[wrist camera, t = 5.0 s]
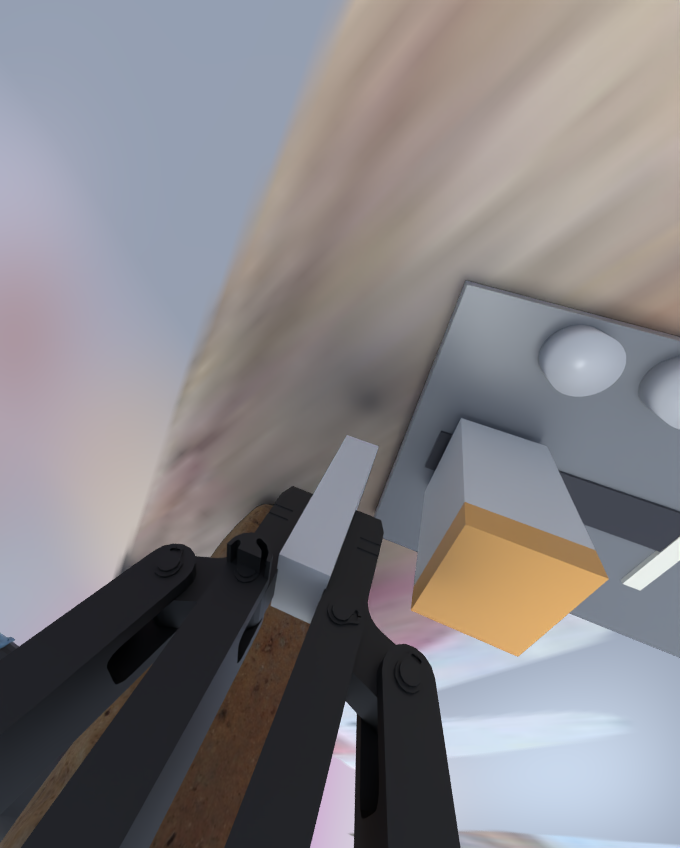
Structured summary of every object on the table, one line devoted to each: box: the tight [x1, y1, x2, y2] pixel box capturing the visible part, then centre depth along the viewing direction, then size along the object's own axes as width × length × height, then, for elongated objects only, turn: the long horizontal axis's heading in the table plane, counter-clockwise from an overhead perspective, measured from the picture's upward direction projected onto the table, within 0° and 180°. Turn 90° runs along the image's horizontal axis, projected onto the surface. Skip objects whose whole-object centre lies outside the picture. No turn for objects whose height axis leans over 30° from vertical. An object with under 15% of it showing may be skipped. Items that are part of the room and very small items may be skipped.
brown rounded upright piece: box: [0, 504, 310, 848], centre depth 19 cm, size 11×8×20 cm
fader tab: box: [411, 418, 609, 657], centre depth 13 cm, size 4×5×7 cm
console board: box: [374, 280, 680, 658], centre depth 16 cm, size 20×16×4 cm
